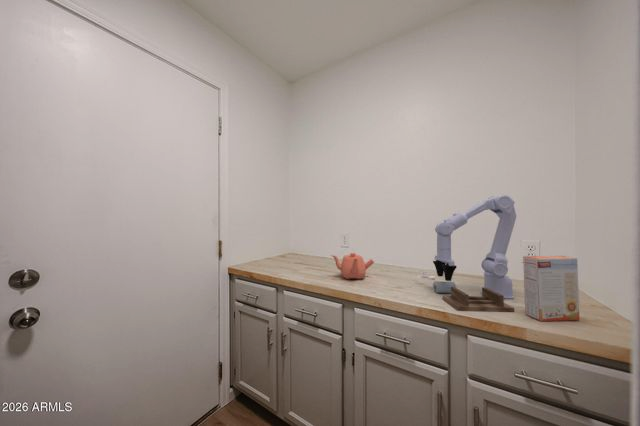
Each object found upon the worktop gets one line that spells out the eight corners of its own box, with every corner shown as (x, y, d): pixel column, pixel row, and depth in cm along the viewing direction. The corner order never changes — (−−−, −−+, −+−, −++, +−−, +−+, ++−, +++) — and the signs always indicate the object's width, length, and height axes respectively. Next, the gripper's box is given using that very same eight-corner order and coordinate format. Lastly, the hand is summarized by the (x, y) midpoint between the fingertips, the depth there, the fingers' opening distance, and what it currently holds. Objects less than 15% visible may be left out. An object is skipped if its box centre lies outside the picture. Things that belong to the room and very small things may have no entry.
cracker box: (561, 313, 82) (559, 255, 83) (580, 321, 76) (579, 258, 77) (523, 314, 82) (522, 255, 82) (540, 321, 76) (538, 258, 76)
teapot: (356, 283, 120) (356, 257, 120) (330, 277, 133) (330, 253, 133) (375, 277, 132) (375, 253, 133) (350, 272, 145) (350, 250, 146)
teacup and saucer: (437, 279, 128) (437, 272, 129) (426, 281, 126) (426, 273, 126) (425, 276, 137) (425, 269, 137) (414, 277, 134) (414, 270, 134)
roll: (451, 291, 108) (451, 280, 108) (456, 294, 103) (456, 283, 103) (432, 290, 108) (432, 280, 108) (437, 294, 103) (437, 283, 103)
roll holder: (491, 300, 96) (491, 286, 96) (514, 312, 84) (514, 296, 84) (442, 299, 97) (442, 286, 97) (457, 310, 85) (457, 295, 85)
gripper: (428, 246, 113) (428, 274, 113) (442, 250, 99) (442, 282, 99) (443, 246, 113) (443, 274, 113) (459, 251, 99) (459, 283, 98)
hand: (444, 278), depth 106 cm, fingers open, 7 cm apart
